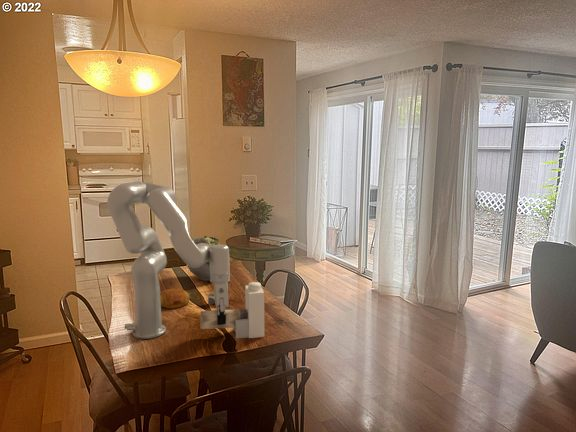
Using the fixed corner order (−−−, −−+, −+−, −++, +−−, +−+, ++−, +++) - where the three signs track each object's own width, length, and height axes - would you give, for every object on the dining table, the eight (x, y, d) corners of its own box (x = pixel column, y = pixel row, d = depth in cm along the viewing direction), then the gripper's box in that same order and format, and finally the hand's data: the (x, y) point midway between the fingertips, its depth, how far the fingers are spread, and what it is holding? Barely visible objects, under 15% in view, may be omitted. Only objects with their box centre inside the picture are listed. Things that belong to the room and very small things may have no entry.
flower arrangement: (175, 282, 230) (174, 238, 226) (201, 270, 252) (200, 230, 249) (214, 288, 220) (213, 243, 216) (237, 275, 243) (237, 234, 239)
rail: (200, 329, 160) (200, 314, 160) (200, 325, 164) (200, 310, 163) (247, 327, 165) (247, 312, 164) (246, 323, 168) (246, 309, 167)
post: (236, 339, 161) (235, 289, 158) (233, 328, 171) (232, 281, 167) (264, 336, 164) (264, 287, 160) (260, 326, 173) (259, 279, 170)
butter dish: (235, 309, 193) (235, 295, 192) (196, 310, 191) (195, 296, 190) (236, 299, 205) (235, 287, 204) (198, 301, 203) (198, 288, 202)
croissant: (156, 305, 202) (153, 289, 201) (188, 296, 208) (185, 281, 206) (159, 315, 189) (156, 298, 187) (193, 306, 194) (190, 289, 193)
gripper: (232, 282, 154) (233, 329, 157) (227, 270, 170) (228, 313, 172) (211, 284, 152) (212, 331, 155) (209, 271, 168) (210, 315, 171)
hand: (221, 321), depth 164 cm, fingers closed on rail, 3 cm apart
